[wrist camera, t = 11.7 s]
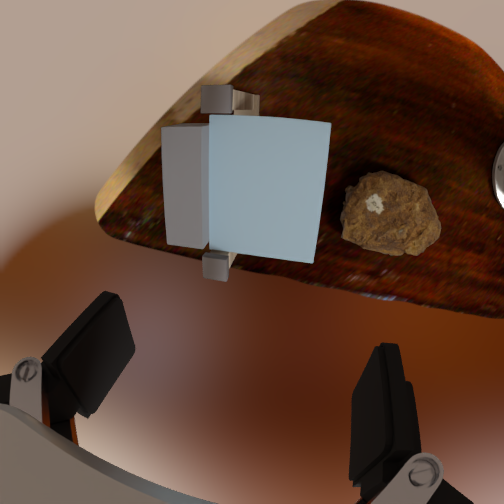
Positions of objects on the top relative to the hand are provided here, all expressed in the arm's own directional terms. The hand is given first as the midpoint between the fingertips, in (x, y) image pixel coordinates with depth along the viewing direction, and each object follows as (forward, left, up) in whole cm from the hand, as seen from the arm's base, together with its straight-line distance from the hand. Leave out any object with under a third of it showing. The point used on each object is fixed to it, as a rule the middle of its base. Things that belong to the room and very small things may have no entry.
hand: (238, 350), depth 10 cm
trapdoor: (+4, 0, -22) cm, 23 cm away
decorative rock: (-14, +4, -32) cm, 35 cm away
